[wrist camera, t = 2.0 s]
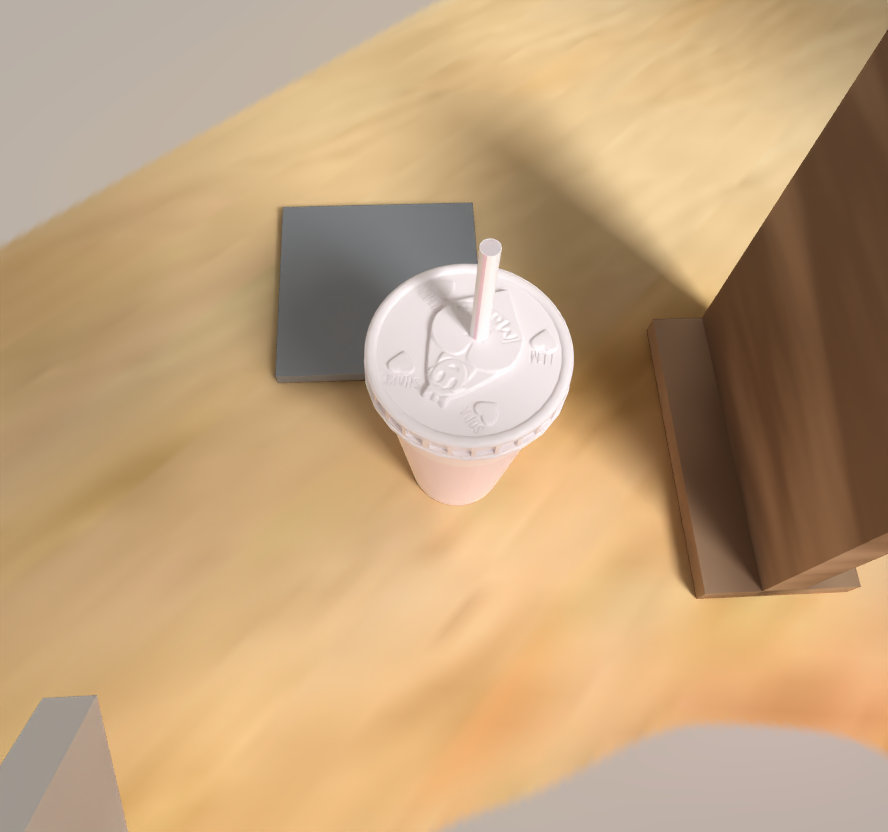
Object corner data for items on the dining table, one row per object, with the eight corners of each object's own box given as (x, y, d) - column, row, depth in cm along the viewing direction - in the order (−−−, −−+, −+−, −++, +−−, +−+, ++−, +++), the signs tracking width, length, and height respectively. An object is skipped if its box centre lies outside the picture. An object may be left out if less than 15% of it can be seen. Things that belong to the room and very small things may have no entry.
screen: (776, 326, 34) (1102, -64, 18) (847, 591, 29) (1384, 390, 13) (646, 330, 34) (856, -62, 18) (696, 598, 29) (1049, 402, 13)
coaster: (471, 210, 37) (472, 202, 36) (485, 375, 33) (486, 369, 32) (285, 215, 36) (283, 207, 36) (277, 382, 32) (275, 376, 32)
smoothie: (560, 440, 32) (652, 230, 19) (484, 568, 29) (531, 429, 17) (431, 368, 33) (436, 126, 20) (348, 486, 31) (295, 298, 18)
